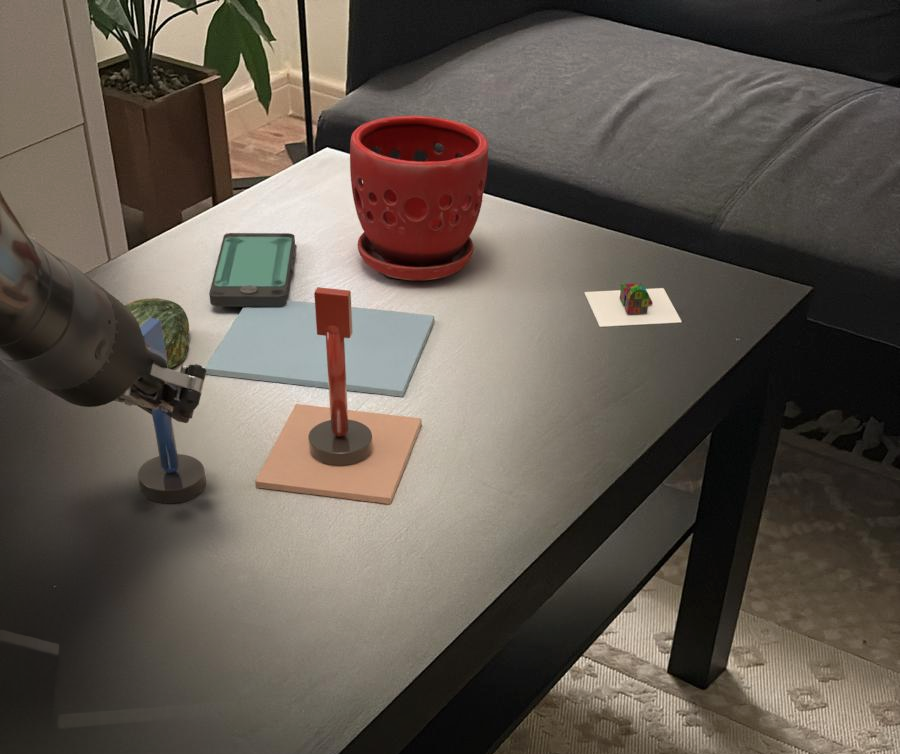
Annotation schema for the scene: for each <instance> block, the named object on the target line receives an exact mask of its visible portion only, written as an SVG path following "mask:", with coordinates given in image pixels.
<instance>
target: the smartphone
mask: <svg viewBox="0 0 900 754" xmlns="http://www.w3.org/2000/svg"><path fill="white" fill-rule="evenodd" d="M295 236H296V235H295V234H293V233H290V232H281V233H280V232H278V233H277V232H276V233H275V232H271V233H270V232H229V233H225V234H223V237H222V241H221V245H220V248H219V253H218V257H217V262H216V265H215V269H214V272H213V273H214V274H213V278H212V281H211V285H210V288H209V293H208V295H209V303H210V305H211V306H213V307H244V306H284V305H286V303H287V300H288V295H289V289H290V283H291V276H292V273H293V271H294V264H295V258H296V252H297V244H296V239H295V238H296V237H295Z"/></svg>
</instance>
